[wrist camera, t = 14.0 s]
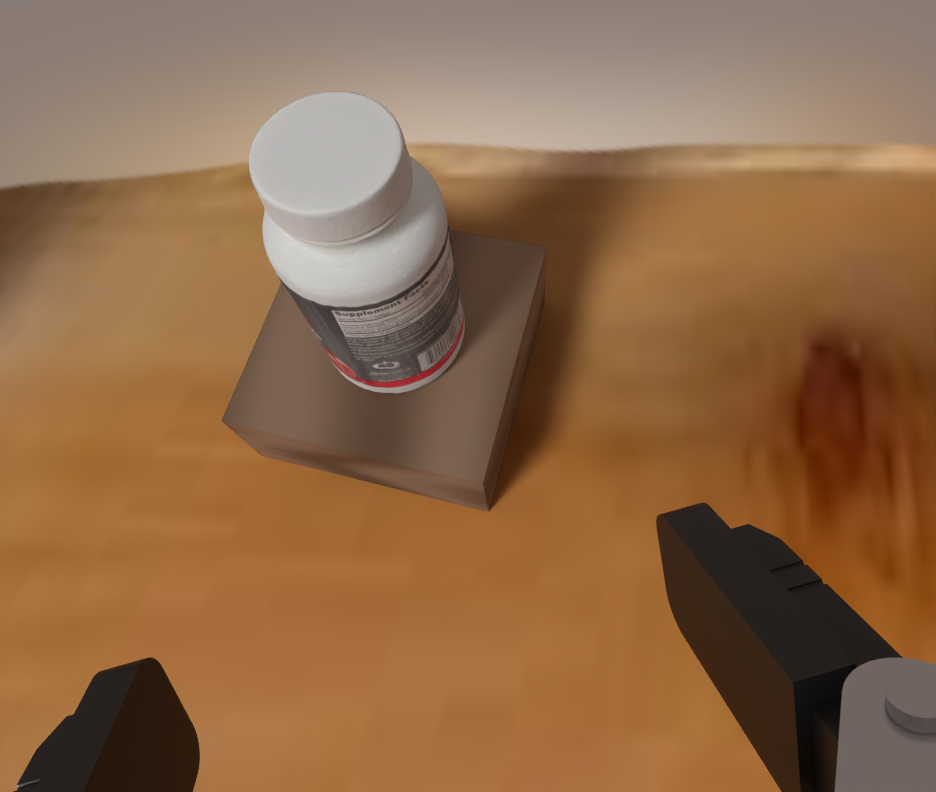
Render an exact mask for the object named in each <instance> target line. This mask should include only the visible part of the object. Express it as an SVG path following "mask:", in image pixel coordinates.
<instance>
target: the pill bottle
mask: <svg viewBox="0 0 936 792" xmlns="http://www.w3.org/2000/svg"><path fill="white" fill-rule="evenodd" d="M249 169H250V175H251V179H252V182H253V185H254V187H255V189H256V191H257V193H258V195H259V197H260V199H261V201H262V203H263V206H264V208H265V213H264V218H263V228H262V229H263V240H264V246H265V250H266V253H267V255H268V258H269V260H270V262H271V264H272V267H273V269H274V270H275V272H276V274H277V276H278V277H279V279H280V281H281V283H282V284H283V285H284V286H285V287H286V289H287V290H288V292H289V293H290V295H291V297H292V298H293V300H294V301H295V303H296V304H297V306H298V308H299V309H300V311H301V312H302V314H303V316H304V317H305V319H306V321H307V323H308V325H309V326H310V328H311V329H312V331H313V333H314V334H315V336H316V338H317V339H318V341H319V342H320V344H321V345H322V347H323V349H324V350H325V352H326V354H327V355H328V357H329V358H330V360H331V361H332V363H333V364H334V365H335V367H336V368H337V369H338V370H339V372H340V373H341V374H342V375H343V376H344V377H345V378H347V379H348V380H349V381H351V382H352V383H354V384H356V385H358V386H360V387H361V388H364V389H367V390H370V391H374V392H381V393H402V392H407V391H411V390H414V389H417V388H419V387H421V386H423V385H425V384H427V383H429V382H431V381H433V380H434V379H436V378H437V377H439V376H440V375H441V374H442V373H443V372H444V371H445V370H446V369H447V368H448V367H449V366H450V364H451V363H452V362H453V360H454V359H455V357H456V355H457V354H458V352H459V349H460V347H461V344H462V341H463V337H464V331H465V319H464V309H463V303H462V299H461V293H460V289H459V283H458V277H457V271H456V266H455V258H454V253H453V245H452V239H451V234H450V230H449V225H448V219H447V214H446V209H445V205H444V201H443V197H442V194H441V191H440V189H439V187H438V185H437V183H436V182H435V180H434V179H433V177H432V176H431V174H430V173H429V172H428V171H427V170H426V169H425V168H424V167H423V166H422V165H421V164H420V163H419V162H417V161H416V160H415V159H413V158H412V157H410V155H409V153H408V150H407V148H406V144H405V141H404V137H403V133H402V131H401V128H400V126H399V124H398V122H397V120H396V119H395V117H394V116H393V115H392V113H391V112H390V111H389V110H388V109H387V108H386V107H384V106H383V105H382V104H380V103H379V102H377V101H375V100H373V99H371V98H369V97H367V96H363V95H360V94H357V93H353V92H342V91H337V92H335V91H333V92H332V91H330V92H323V93H318V94H313V95H309V96H306V97H303V98H300V99H298V100H296V101H294V102H292V103H290V104H289V105H287V106H285V107H283V108H282V109H280V110H279V111H278V112H276V113H275V114H274V115H273V116H271V117H270V119H269V120H267V122H266V123H265V124H264V125H263V126H262V127H261V128H260V130H259V132H258V134H257V135H256V137H255V139H254V141H253V144H252V147H251V151H250V157H249Z"/></svg>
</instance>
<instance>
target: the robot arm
mask: <svg viewBox="0 0 936 792" xmlns="http://www.w3.org/2000/svg"><path fill="white" fill-rule="evenodd" d="M656 523H657V532H658V539H659V545H660V552H661V558H662V565H663V571H664V578H665V584H666V591H667V596H668V600H669V604H670V607H671V610H672V613H673V615H674V618H675V620H676V623H677V625H678V627H679V629H680V631H681V633H682V634H683V636H684V638H685V639H686V641H687V642H688V644H689V645H690V647H691V649H692V650H693V652H694V653H695V655H696V657H697V658H698V660H699V661H700V663H701V664H702V666H703V668H704V669H705V671H706V672H707V674H708V676H709V677H710V679H711V680H712V682H713V684H714V685H715V687H716V688H717V690H718V691H719V693H720V695H721V696H722V698H723V699H724V701H725V703H726V704H727V706H728V707H729V709H730V710H731V712H732V714H733V715H734V717H735V718H736V720H737V722H738V723H739V725H740V726H741V728H742V730H743V731H744V733H745V734H746V736H747V737H748V739H749V741H750V742H751V744H752V745H753V747H754V749H755V750H756V752H757V753H758V755H759V756H760V758H761V760H762V761H763V763H764V764H765V766H766V768H767V769H768V771H769V772H770V774H771V775H772V777H773V779H774V780H775V782H776V783H777V785H778V787H779V788H780V790H781V791H782V792H936V665H934V664H931V663H928V662H924V661H920V660H916V659H908V658H903V657H902V656H900V655H899V654H898V653H897V652H896V651H895V650H894V649H893V648H892V647H891V646H890V645H889V644H888V643H887V642H886V641H885V640H884V639H883V638H882V637H881V636H880V635H879V634H878V633H877V632H876V631H875V630H874V629H873V628H872V627H871V626H870V625H868V624H867V623H866V622H865V621H864V620H863V619H862V618H861V617H860V616H859V615H858V614H857V613H856V612H855V611H854V610H853V609H852V608H851V607H850V606H849V605H848V604H847V603H846V602H845V601H844V600H843V599H842V598H841V597H840V596H839V595H838V594H837V593H836V592H834V591H833V590H832V589H831V588H830V587H829V586H828V585H827V584H823V582H822V579H821V578H820V577H819V576H818V575H817V574H816V573H815V572H814V571H813V570H812V569H811V568H810V567H809V566H808V565H804V563H803V560H802V559H801V558H799V557H798V556H797V555H796V554H795V553H794V552H793V551H792V550H791V549H790V548H789V547H788V546H787V545H786V544H785V543H784V542H783V541H782V540H781V539H780V538H777V537H775V536H773V535H771V534H769V533H767V532H764V531H762V530H760V529H758V528H756V527H754V526H752V525H749V524H747V525H743V526H740V527H736V528H733V529H730V528H729V527H728V525H727V524H726V523H725V522H724V521H723V520H722V519H721V518H720V517H719V516H718V515H717V514H716V513H715V511H714V510H713V509H712V508H711V507H710V506H709V505H708V504H706V503H699V504H696V505H692V506H689V507H685V508H681V509H678V510H674V511H671V512H667V513H664V514H660V515H658V516H657V521H656ZM199 760H200V752H199V743H198V738H197V734H196V731H195V728H194V726H193V724H192V722H191V720H190V718H189V717H188V715H187V713H186V711H185V709H184V707H183V705H182V703H181V701H180V700H179V698H178V696H177V694H176V692H175V690H174V688H173V686H172V685H171V683H170V681H169V679H168V677H167V675H166V673H165V671H164V669H163V668H162V666H161V664H160V663H159V662H158V661H157V660H156V659H154V658H145V659H142V660H138V661H135V662H131V663H128V664H124V665H121V666H117V667H113V668H110V669H106V670H103V671H100V672H98V673H97V674H96V675H95V676H94V677H93V679H92V681H91V683H90V684H89V686H88V688H87V690H86V692H85V694H84V696H83V698H82V700H81V702H80V704H79V706H78V707H77V709H76V711H75V713H74V715H70V716H67V717H66V718H65V719H64V720H63V721H62V722H61V723H60V724H59V725H58V726H57V728H56V729H55V730H54V731H53V732H52V733H51V734H50V735H49V736H48V738H47V739H46V740H45V741H44V742H43V743H42V744H41V745H40V746H39V747H38V749H37V750H36V751H35V753H34V755H33V757H32V759H31V760H30V762H29V764H28V766H27V768H26V769H25V771H24V773H23V775H22V777H21V778H20V780H19V782H18V784H17V785H18V790H17V791H14V792H193V789H194V785H195V781H196V778H197V774H198V770H199Z"/></svg>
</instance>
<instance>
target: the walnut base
mask: <svg viewBox="0 0 936 792" xmlns="http://www.w3.org/2000/svg"><path fill="white" fill-rule="evenodd" d="M450 234H451V239H452V245H453V253H454V258H455V266H456V271H457V277H458V283H459V289H460V293H461V299H462V303H463V309H464V319H465V331H464V337H463V341H462V344H461V347H460V349H459V352H458V354H457V355H456V357H455V359H454V360H453V362H452V363H451V364H450V366H449V367H448V368H447V369H446V370H445V371H444V372H443V373H442V374H441V375H440V376H439V377H437V378H436V379H434V380H433V381H431V382H429V383H427V384H425V385H423V386H421V387H419V388H417V389H414V390H411V391H407V392H402V393H381V392H374V391H370V390H367V389H364V388H361V387H360V386H358V385H356V384H354V383H352V382H351V381H349V380H348V379H347V378H345V377H344V376H343V375H342V374H341V373H340V372H339V370H338V369H337V368H336V367H335V365H334V364H333V363H332V361H331V360H330V358H329V357H328V355H327V354H326V352H325V350H324V349H323V347H322V345H321V344H320V342H319V341H318V339H317V338H316V336H315V334H314V333H313V331H312V329H311V328H310V326H309V325H308V323H307V321H306V319H305V317H304V316H303V314H302V312H301V311H300V309H299V308H298V306H297V304H296V303H295V301H294V300H293V298H292V297H291V295H290V293H289V292H288V290H287V289H286V287H285V286H284V285H283V284H282V283H281V285H280V287H279V290H278V292H277V294H276V296H275V299H274V301H273V303H272V306H271V308H270V310H269V313H268V315H267V317H266V319H265V322H264V324H263V326H262V329H261V331H260V333H259V336H258V338H257V340H256V342H255V345H254V347H253V349H252V352H251V354H250V356H249V359H248V361H247V363H246V365H245V368H244V370H243V372H242V375H241V377H240V379H239V382H238V384H237V386H236V388H235V391H234V393H233V395H232V398H231V400H230V402H229V405H228V407H227V409H226V411H225V414H224V416H223V418H222V422H223V423H225V424H226V425H227V426H228V427H229V428H230V429H231V430H233V431H234V432H235V433H236V434H237V435H238V436H239V437H241V438H242V439H243V440H244V441H245V442H246V443H247V444H249V445H250V446H251V447H252V448H253V449H254V450H256V451H257V452H258V453H259V454H260V455H263V456H267V457H271V458H275V459H279V460H283V461H287V462H291V463H295V464H299V465H303V466H307V467H311V468H315V469H319V470H323V471H327V472H331V473H335V474H339V475H343V476H347V477H351V478H355V479H359V480H364V481H368V482H372V483H376V484H380V485H384V486H388V487H392V488H396V489H400V490H404V491H408V492H412V493H416V494H420V495H424V496H428V497H432V498H436V499H440V500H444V501H448V502H452V503H456V504H460V505H464V506H468V507H472V508H476V509H480V510H484V511H488V512H489V509H490V505H491V501H492V497H493V493H494V490H495V486H496V482H497V478H498V474H499V470H500V467H501V463H502V459H503V455H504V451H505V448H506V444H507V440H508V436H509V432H510V428H511V425H512V421H513V417H514V413H515V409H516V406H517V402H518V398H519V394H520V390H521V387H522V383H523V379H524V375H525V371H526V367H527V364H528V360H529V356H530V352H531V348H532V345H533V341H534V337H535V333H536V329H537V325H538V322H539V318H540V314H541V310H542V306H543V303H544V293H545V271H546V248H547V247H543V246H537V245H532V244H526V243H520V242H515V241H509V240H503V239H498V238H492V237H486V236H480V235H475V234H469V233H463V232H458V231H452V230H450Z"/></svg>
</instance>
